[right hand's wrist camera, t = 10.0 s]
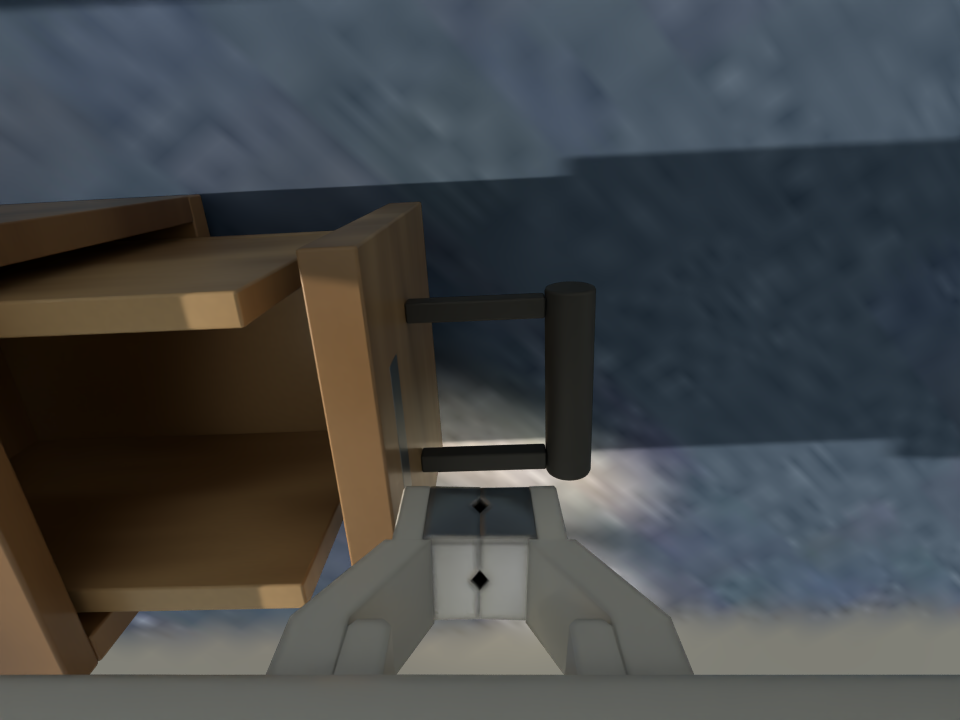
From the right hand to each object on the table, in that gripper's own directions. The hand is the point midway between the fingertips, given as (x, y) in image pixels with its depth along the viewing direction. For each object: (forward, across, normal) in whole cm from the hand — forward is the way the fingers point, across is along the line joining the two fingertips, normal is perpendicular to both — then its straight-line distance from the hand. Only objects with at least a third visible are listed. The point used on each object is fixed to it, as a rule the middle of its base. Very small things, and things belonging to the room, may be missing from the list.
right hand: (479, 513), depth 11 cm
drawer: (+11, -8, 0) cm, 13 cm away
